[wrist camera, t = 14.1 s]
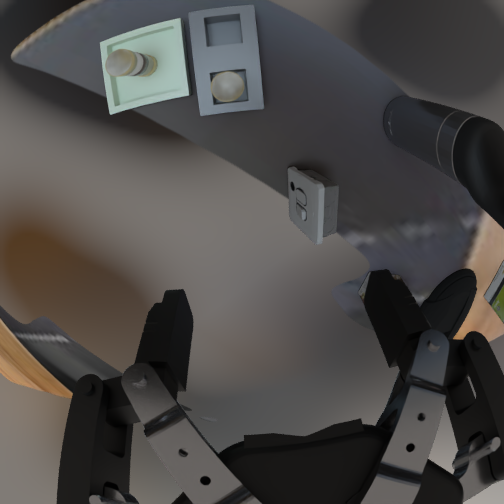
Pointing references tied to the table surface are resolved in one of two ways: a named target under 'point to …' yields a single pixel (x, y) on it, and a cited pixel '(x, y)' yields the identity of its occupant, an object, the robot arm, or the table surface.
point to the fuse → (227, 86)
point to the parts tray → (166, 75)
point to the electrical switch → (312, 203)
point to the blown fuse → (130, 64)
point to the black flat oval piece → (451, 302)
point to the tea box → (497, 293)
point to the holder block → (226, 56)
